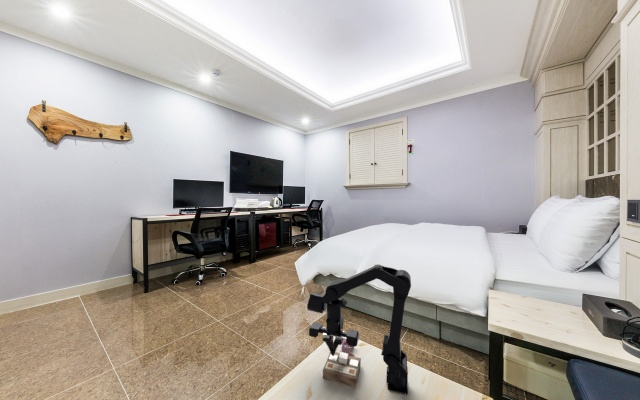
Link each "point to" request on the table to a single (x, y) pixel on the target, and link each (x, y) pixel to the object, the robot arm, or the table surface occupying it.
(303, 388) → the table surface
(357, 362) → the key
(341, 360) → the key middle
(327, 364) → the keypad
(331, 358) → the key
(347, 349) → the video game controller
